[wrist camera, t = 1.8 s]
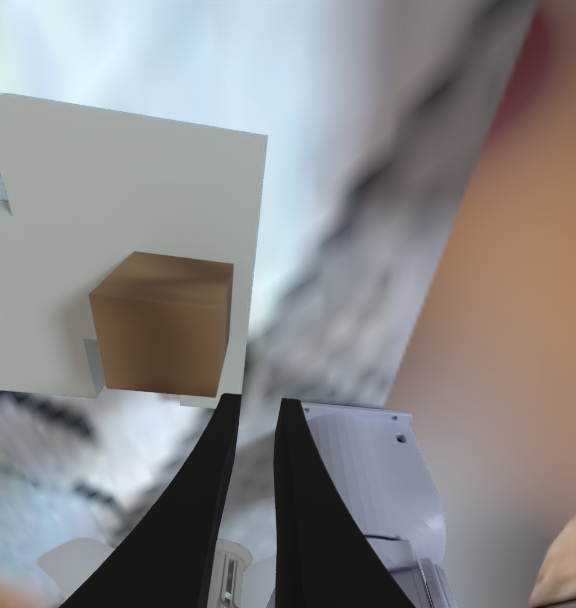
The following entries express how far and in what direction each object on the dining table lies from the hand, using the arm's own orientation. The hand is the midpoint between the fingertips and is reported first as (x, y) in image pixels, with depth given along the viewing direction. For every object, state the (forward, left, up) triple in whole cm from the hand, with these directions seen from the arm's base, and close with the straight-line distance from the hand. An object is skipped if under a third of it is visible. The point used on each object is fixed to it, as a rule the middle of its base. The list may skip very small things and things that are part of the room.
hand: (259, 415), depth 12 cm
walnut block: (+5, 0, -7) cm, 9 cm away
